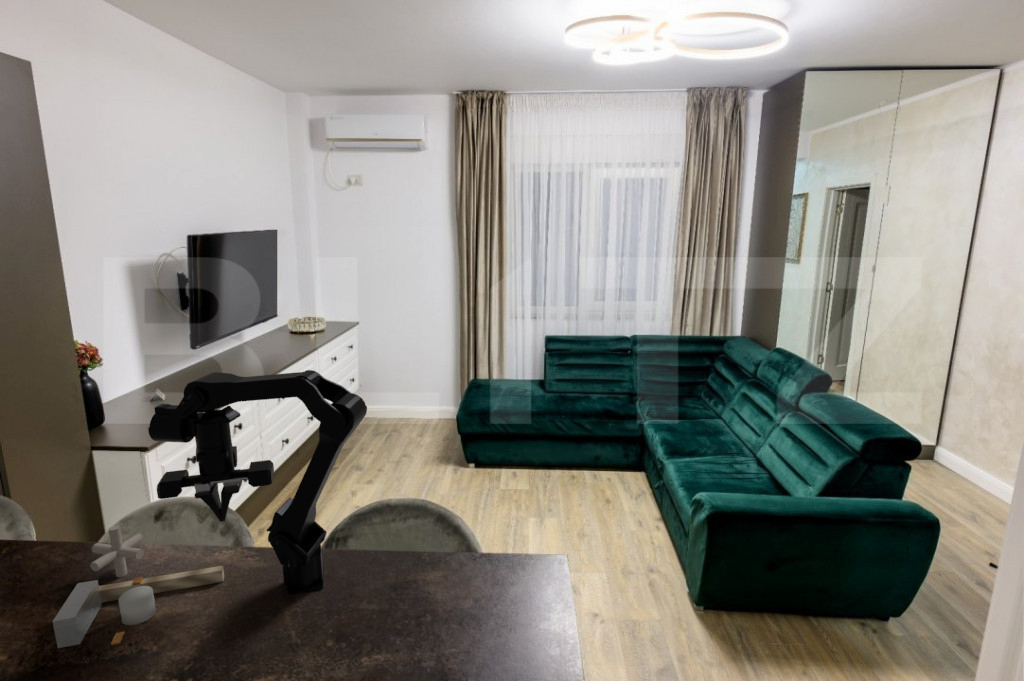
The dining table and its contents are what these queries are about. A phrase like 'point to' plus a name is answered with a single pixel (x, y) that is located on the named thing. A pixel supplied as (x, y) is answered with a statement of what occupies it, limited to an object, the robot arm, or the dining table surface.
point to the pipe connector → (117, 551)
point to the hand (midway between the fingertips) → (223, 520)
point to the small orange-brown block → (117, 638)
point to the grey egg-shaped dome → (137, 605)
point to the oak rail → (164, 582)
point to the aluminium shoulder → (77, 614)
